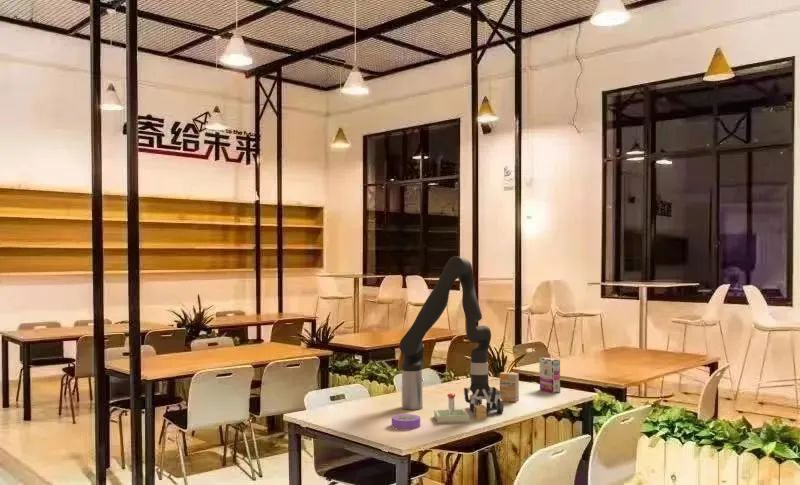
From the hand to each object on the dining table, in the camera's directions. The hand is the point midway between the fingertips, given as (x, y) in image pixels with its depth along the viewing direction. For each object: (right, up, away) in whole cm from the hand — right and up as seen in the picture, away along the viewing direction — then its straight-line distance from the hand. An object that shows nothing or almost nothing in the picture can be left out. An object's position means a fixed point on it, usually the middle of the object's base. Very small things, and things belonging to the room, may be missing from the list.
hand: (480, 411), depth 289 cm
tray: (-13, -2, -5) cm, 14 cm away
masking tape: (-32, -3, -14) cm, 35 cm away
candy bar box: (+42, -3, +53) cm, 68 cm away
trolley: (+4, -2, +12) cm, 13 cm away
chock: (0, -2, 0) cm, 2 cm away
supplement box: (+17, -3, +31) cm, 36 cm away
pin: (-13, -1, -5) cm, 13 cm away
